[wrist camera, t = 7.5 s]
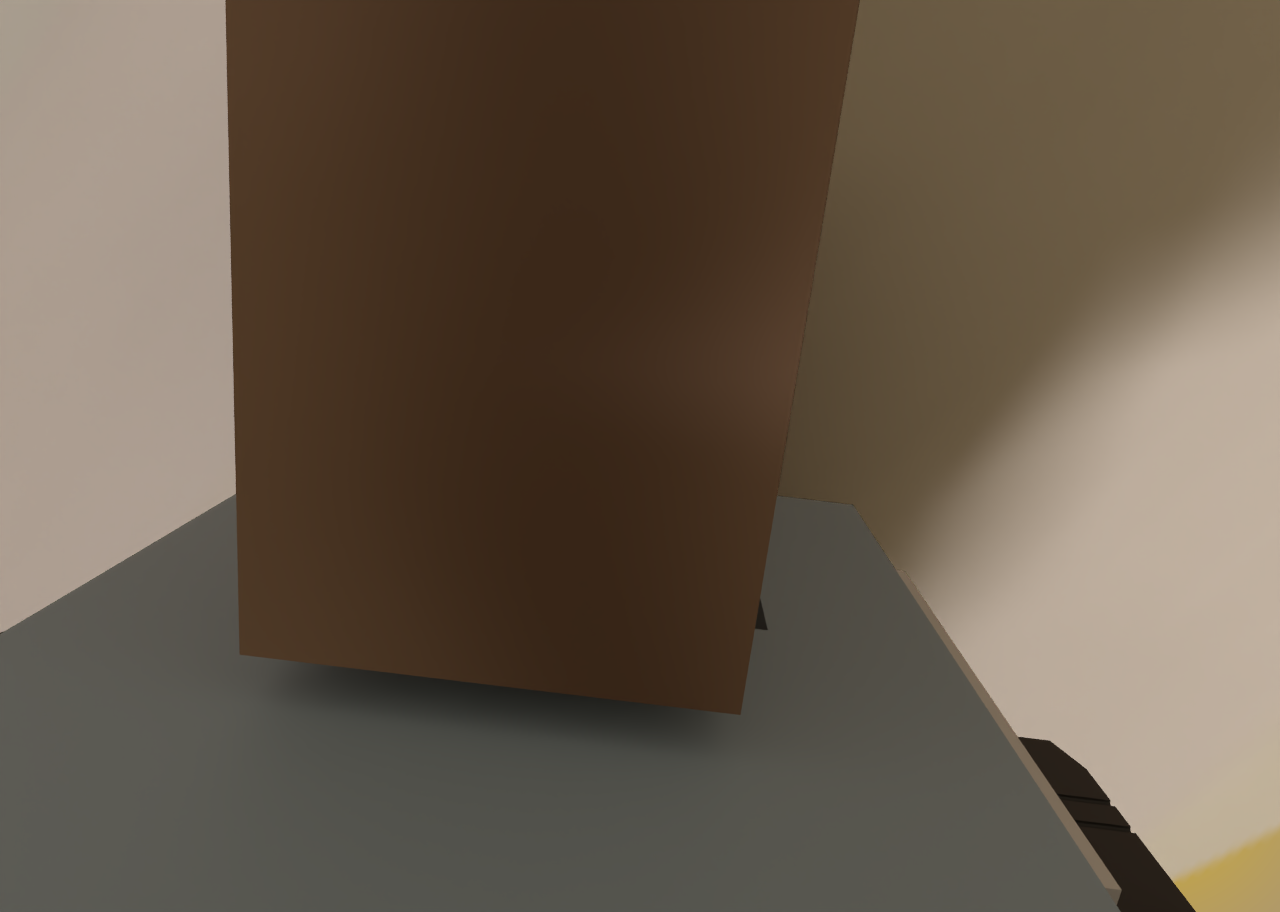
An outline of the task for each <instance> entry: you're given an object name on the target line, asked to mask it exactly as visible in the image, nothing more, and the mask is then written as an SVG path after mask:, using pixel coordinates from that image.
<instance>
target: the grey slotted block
mask: <svg viewBox="0 0 1280 912" xmlns="http://www.w3.org/2000/svg"><path fill="white" fill-rule="evenodd" d="M0 912H1121V911H1120V910H1119V908H1118V907H1117V905H1116V904H1115V902H1114V901H1113V899H1112V898H1111V896H1110V895H1109V893H1108V892H1107V890H1106V889H1105V887H1104V886H1103V884H1102V882H1101V881H1100V879H1099V878H1098V876H1097V875H1096V873H1095V872H1094V870H1093V869H1092V867H1091V866H1090V864H1089V863H1088V861H1087V860H1086V858H1085V857H1084V855H1083V854H1082V852H1081V851H1080V849H1079V848H1078V846H1077V845H1076V843H1075V841H1074V840H1073V838H1072V837H1071V835H1070V834H1069V832H1068V831H1067V829H1066V828H1065V826H1064V825H1063V823H1062V822H1061V820H1060V819H1059V817H1058V816H1057V814H1056V813H1055V811H1054V810H1053V808H1052V807H1051V805H1050V803H1049V802H1048V800H1047V799H1046V797H1045V796H1044V794H1043V793H1042V791H1041V790H1040V788H1039V787H1038V785H1037V784H1036V782H1035V781H1034V779H1033V778H1032V776H1031V775H1030V773H1029V772H1028V770H1027V769H1026V767H1025V765H1024V764H1023V762H1022V761H1021V759H1020V758H1019V756H1018V755H1017V753H1016V752H1015V750H1014V749H1013V747H1012V746H1011V744H1010V743H1009V741H1008V740H1007V738H1006V737H1005V735H1004V734H1003V732H1002V731H1001V729H1000V727H999V726H998V724H997V723H996V721H995V720H994V718H993V717H992V715H991V714H990V712H989V711H988V709H987V708H986V706H985V705H984V703H983V702H982V700H981V699H980V697H979V696H978V694H977V693H976V691H975V690H974V688H973V686H972V685H971V683H970V682H969V680H968V679H967V677H966V676H965V674H964V673H963V671H962V670H961V668H960V667H959V665H958V664H957V662H956V661H955V659H954V658H953V656H952V655H951V653H950V652H949V650H948V648H947V647H946V645H945V644H944V642H943V641H942V639H941V638H940V636H939V635H938V633H937V632H936V630H935V629H934V627H933V626H932V624H931V623H930V621H929V620H928V618H927V617H926V615H925V614H924V612H923V610H922V609H921V607H920V606H919V604H918V603H917V601H916V600H915V598H914V597H913V595H912V594H911V592H910V591H909V589H908V588H907V586H906V585H905V583H904V582H903V580H902V579H901V577H900V576H899V574H898V573H897V571H896V569H895V568H894V566H893V565H892V563H891V562H890V560H889V559H888V557H887V556H886V554H885V553H884V551H883V550H882V548H881V547H880V545H879V544H878V542H877V541H876V539H875V538H874V536H873V535H872V533H871V531H870V530H869V528H868V527H867V525H866V524H865V522H864V521H863V519H862V518H861V516H860V515H859V513H858V512H857V510H856V509H855V507H854V506H853V505H850V504H842V503H833V502H825V501H817V500H808V499H800V498H792V497H783V496H777V499H776V505H775V511H774V517H773V523H772V529H771V535H770V541H769V547H768V553H767V559H766V565H765V571H764V577H763V583H762V589H761V595H760V601H759V607H758V613H757V619H756V625H755V631H754V637H753V643H752V649H751V655H750V661H749V667H748V673H747V679H746V685H745V691H744V697H743V703H742V709H741V715H736V714H727V713H719V712H711V711H702V710H694V709H686V708H678V707H669V706H661V705H653V704H644V703H636V702H628V701H619V700H611V699H603V698H595V697H586V696H578V695H570V694H561V693H553V692H545V691H537V690H528V689H520V688H512V687H503V686H495V685H487V684H478V683H470V682H462V681H454V680H445V679H437V678H429V677H420V676H412V675H404V674H396V673H387V672H379V671H371V670H362V669H354V668H346V667H337V666H329V665H321V664H313V663H304V662H296V661H288V660H279V659H271V658H263V657H254V656H246V655H240V653H239V606H238V559H237V512H236V494H235V495H233V496H232V497H230V498H228V499H227V500H225V501H223V502H221V503H220V504H218V505H216V506H215V507H213V508H211V509H210V510H208V511H206V512H205V513H203V514H201V515H200V516H198V517H196V518H195V519H193V520H191V521H190V522H188V523H186V524H184V525H183V526H181V527H179V528H178V529H176V530H174V531H173V532H171V533H169V534H168V535H166V536H164V537H163V538H161V539H159V540H158V541H156V542H154V543H153V544H151V545H149V546H148V547H146V548H144V549H142V550H141V551H139V552H137V553H136V554H134V555H132V556H131V557H129V558H127V559H126V560H124V561H122V562H121V563H119V564H117V565H116V566H114V567H112V568H111V569H109V570H107V571H105V572H104V573H102V574H100V575H99V576H97V577H95V578H94V579H92V580H90V581H89V582H87V583H85V584H84V585H82V586H80V587H79V588H77V589H75V590H74V591H72V592H70V593H68V594H67V595H65V596H63V597H62V598H60V599H58V600H57V601H55V602H53V603H52V604H50V605H48V606H47V607H45V608H43V609H42V610H40V611H38V612H37V613H35V614H33V615H32V616H30V617H28V618H26V619H25V620H23V621H21V622H20V623H18V624H16V625H15V626H13V627H11V628H10V629H8V630H6V631H5V632H3V633H1V634H0Z"/></svg>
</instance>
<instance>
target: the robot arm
mask: <svg viewBox="0 0 1280 912" xmlns="http://www.w3.org/2000/svg"><path fill="white" fill-rule="evenodd" d="M896 571H897V573H898V574H899V576H900V577H901V579H902V580H903V582H904V583H905V585H906V586H907V588H908V589H909V591H910V592H911V594H912V595H913V597H914V598H915V600H916V601H917V603H918V604H919V606H920V607H921V609H922V610H923V612H924V614H925V615H926V617H927V618H928V620H929V621H930V623H931V624H932V626H933V627H934V629H935V630H936V632H937V633H938V635H939V636H940V638H941V639H942V641H943V642H944V644H945V645H946V647H947V648H948V650H949V652H950V653H951V655H952V656H953V658H954V659H955V661H956V662H957V664H958V665H959V667H960V668H961V670H962V671H963V673H964V674H965V676H966V677H967V679H968V680H969V682H970V683H971V685H972V686H973V688H974V690H975V691H976V693H977V694H978V696H979V697H980V699H981V700H982V702H983V703H984V705H985V706H986V708H987V709H988V711H989V712H990V714H991V715H992V717H993V718H994V720H995V721H996V723H997V724H998V726H999V727H1000V729H1001V731H1002V732H1003V734H1004V735H1005V737H1006V738H1007V740H1008V741H1009V743H1010V744H1011V746H1012V747H1013V749H1014V750H1015V752H1016V753H1017V755H1018V756H1019V758H1020V759H1021V761H1022V762H1023V764H1024V765H1025V767H1026V769H1027V770H1028V772H1029V773H1030V775H1031V776H1032V778H1033V779H1034V781H1035V782H1036V784H1037V785H1038V787H1039V788H1040V790H1041V791H1042V793H1043V794H1044V796H1045V797H1046V799H1047V800H1048V802H1049V803H1050V805H1051V807H1052V808H1053V810H1054V811H1055V813H1056V814H1057V816H1058V817H1059V819H1060V820H1061V822H1062V823H1063V825H1064V826H1065V828H1066V829H1067V831H1068V832H1069V834H1070V835H1071V837H1072V838H1073V840H1074V841H1075V843H1076V845H1077V846H1078V848H1079V849H1080V851H1081V852H1082V854H1083V855H1084V857H1085V858H1086V860H1087V861H1088V863H1089V864H1090V866H1091V867H1092V869H1093V870H1094V872H1095V873H1096V875H1097V876H1098V878H1099V879H1100V881H1101V882H1102V884H1103V886H1104V887H1105V889H1106V890H1107V892H1108V893H1109V895H1110V896H1111V898H1112V899H1113V901H1114V902H1115V904H1116V905H1117V907H1118V908H1119V910H1120V911H1121V912H1196V911H1195V910H1194V909H1193V908H1192V906H1191V905H1190V904H1189V902H1188V901H1187V900H1186V898H1185V897H1184V896H1183V894H1182V893H1181V892H1180V891H1179V889H1178V888H1177V887H1176V885H1175V884H1174V883H1173V881H1172V880H1171V879H1170V877H1169V876H1168V875H1167V874H1166V872H1165V871H1164V870H1163V868H1162V867H1161V866H1160V864H1159V863H1158V862H1157V861H1156V859H1155V858H1154V857H1153V855H1152V854H1151V853H1150V851H1149V850H1148V849H1147V847H1146V846H1145V845H1144V844H1143V842H1142V841H1141V840H1140V838H1139V837H1138V836H1137V834H1136V833H1131V831H1130V825H1129V824H1128V823H1127V821H1126V820H1125V819H1124V818H1123V816H1122V815H1121V814H1120V812H1119V811H1118V810H1117V808H1116V807H1115V806H1111V805H1110V799H1109V798H1108V797H1107V795H1106V794H1105V793H1104V791H1103V790H1102V789H1101V788H1100V786H1099V785H1098V784H1097V782H1096V781H1095V780H1094V778H1093V777H1092V776H1091V775H1090V773H1089V772H1088V771H1087V769H1086V768H1084V767H1083V766H1082V765H1080V764H1079V763H1078V762H1076V761H1075V760H1074V759H1073V758H1071V757H1070V756H1069V755H1067V754H1066V753H1065V752H1064V751H1062V750H1061V749H1060V748H1058V747H1057V746H1056V745H1054V744H1053V743H1052V742H1051V741H1048V740H1040V739H1031V738H1023V737H1017V735H1016V734H1015V732H1014V731H1013V729H1012V728H1011V726H1010V725H1009V723H1008V722H1007V721H1006V719H1005V718H1004V716H1003V715H1002V713H1001V712H1000V710H999V709H998V707H997V706H996V704H995V703H994V701H993V700H992V698H991V697H990V696H989V694H988V693H987V691H986V690H985V688H984V687H983V685H982V684H981V682H980V681H979V679H978V678H977V676H976V675H975V674H974V672H973V671H972V669H971V668H970V666H969V665H968V663H967V662H966V660H965V659H964V657H963V656H962V654H961V653H960V651H959V650H958V649H957V647H956V646H955V644H954V643H953V641H952V640H951V638H950V637H949V635H948V634H947V632H946V631H945V629H944V628H943V626H942V625H941V624H940V622H939V621H938V619H937V618H936V616H935V615H934V613H933V612H932V610H931V609H930V607H929V606H928V604H927V603H926V601H925V600H924V599H923V597H922V596H921V594H920V593H919V591H918V590H917V588H916V587H915V585H914V584H913V582H912V581H911V579H910V578H909V576H908V575H907V574H906V572H905V571H899V570H896ZM4 632H5V631H4ZM2 633H3V632H2ZM0 634H1V633H0Z"/></svg>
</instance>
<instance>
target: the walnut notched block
mask: <svg viewBox="0 0 1280 912" xmlns="http://www.w3.org/2000/svg"><path fill="white" fill-rule="evenodd" d="M859 1H860V0H226V43H227V90H228V137H229V184H230V231H231V278H232V325H233V372H234V419H235V465H236V512H237V559H238V606H239V653H240V655H246V656H254V657H263V658H271V659H279V660H288V661H296V662H304V663H313V664H321V665H329V666H337V667H346V668H354V669H362V670H371V671H379V672H387V673H396V674H404V675H412V676H420V677H429V678H437V679H445V680H454V681H462V682H470V683H478V684H487V685H495V686H503V687H512V688H520V689H528V690H537V691H545V692H553V693H561V694H570V695H578V696H586V697H595V698H603V699H611V700H619V701H628V702H636V703H644V704H653V705H661V706H669V707H678V708H686V709H694V710H702V711H711V712H719V713H727V714H736V715H741V709H742V703H743V697H744V691H745V685H746V679H747V673H748V667H749V661H750V655H751V649H752V643H753V637H754V631H755V625H756V619H757V613H758V607H759V601H760V595H761V589H762V583H763V577H764V571H765V565H766V559H767V553H768V547H769V541H770V535H771V529H772V523H773V517H774V511H775V505H776V499H777V493H778V487H779V481H780V475H781V469H782V463H783V457H784V451H785V445H786V439H787V433H788V427H789V421H790V415H791V409H792V403H793V397H794V391H795V385H796V379H797V373H798V367H799V361H800V355H801V349H802V343H803V337H804V331H805V325H806V319H807V313H808V307H809V301H810V295H811V289H812V283H813V277H814V271H815V265H816V259H817V253H818V247H819V241H820V235H821V229H822V223H823V217H824V211H825V205H826V199H827V193H828V187H829V181H830V175H831V169H832V163H833V157H834V151H835V145H836V139H837V133H838V127H839V121H840V115H841V109H842V103H843V97H844V91H845V85H846V79H847V73H848V67H849V61H850V55H851V49H852V43H853V37H854V31H855V25H856V19H857V13H858V7H859Z"/></svg>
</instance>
